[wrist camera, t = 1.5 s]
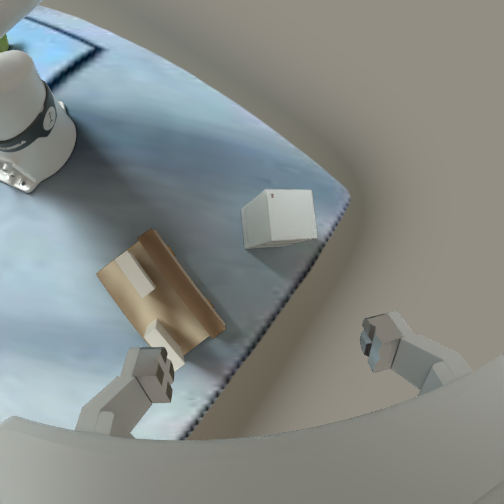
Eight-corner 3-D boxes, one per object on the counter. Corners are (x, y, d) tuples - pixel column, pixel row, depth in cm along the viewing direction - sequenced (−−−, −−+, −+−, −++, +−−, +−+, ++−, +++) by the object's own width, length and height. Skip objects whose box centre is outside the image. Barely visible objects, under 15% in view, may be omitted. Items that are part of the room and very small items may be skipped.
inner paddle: (146, 294, 42) (142, 298, 34) (124, 262, 42) (114, 259, 33) (156, 286, 43) (154, 289, 34) (134, 255, 42) (127, 250, 34)
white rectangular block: (171, 354, 43) (173, 372, 34) (147, 325, 42) (143, 337, 33) (180, 347, 43) (185, 363, 35) (157, 318, 43) (155, 328, 34)
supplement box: (243, 250, 50) (269, 241, 37) (240, 207, 50) (264, 186, 38) (283, 247, 52) (318, 239, 40) (279, 207, 52) (312, 188, 40)
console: (167, 365, 44) (168, 373, 40) (97, 273, 42) (91, 273, 38) (223, 322, 47) (229, 326, 43) (155, 230, 45) (154, 225, 41)
